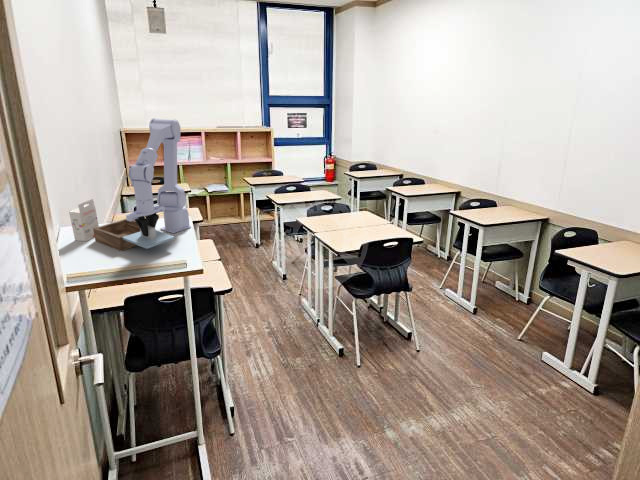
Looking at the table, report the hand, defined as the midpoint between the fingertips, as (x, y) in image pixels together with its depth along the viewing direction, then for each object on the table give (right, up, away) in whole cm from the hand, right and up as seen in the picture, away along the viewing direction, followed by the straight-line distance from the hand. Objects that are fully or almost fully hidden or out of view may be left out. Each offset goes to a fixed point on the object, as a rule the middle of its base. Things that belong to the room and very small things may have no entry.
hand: (148, 234), depth 158 cm
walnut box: (-12, -2, +9) cm, 16 cm away
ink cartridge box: (-28, -1, +11) cm, 30 cm away
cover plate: (0, -2, +1) cm, 2 cm away
